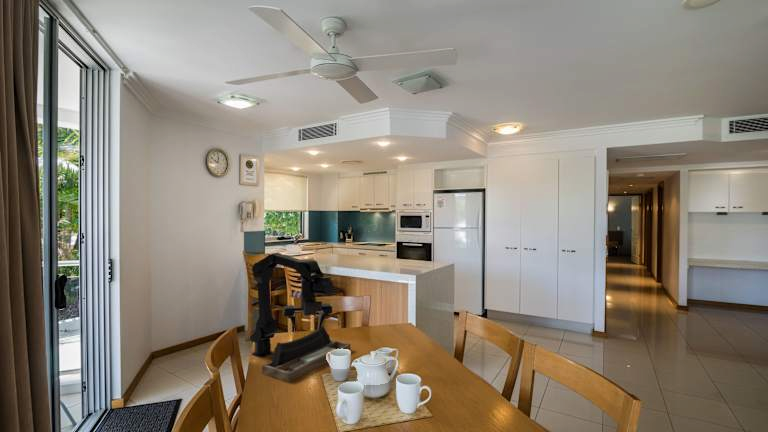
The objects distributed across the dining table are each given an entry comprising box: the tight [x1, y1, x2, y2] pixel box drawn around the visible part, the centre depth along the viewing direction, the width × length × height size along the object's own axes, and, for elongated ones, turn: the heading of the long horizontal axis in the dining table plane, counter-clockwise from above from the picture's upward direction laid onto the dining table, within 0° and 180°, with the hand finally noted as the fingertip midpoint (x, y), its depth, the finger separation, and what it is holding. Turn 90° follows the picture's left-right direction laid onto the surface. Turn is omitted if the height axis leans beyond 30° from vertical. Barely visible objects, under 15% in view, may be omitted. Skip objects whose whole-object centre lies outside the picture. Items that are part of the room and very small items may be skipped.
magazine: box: [271, 325, 331, 368], centre depth 149 cm, size 17×3×30 cm
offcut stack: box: [287, 347, 336, 372], centre depth 146 cm, size 6×26×4 cm, turn 148°
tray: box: [261, 339, 351, 383], centre depth 148 cm, size 14×36×3 cm, turn 148°
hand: (307, 331), depth 144 cm, fingers open, 9 cm apart
